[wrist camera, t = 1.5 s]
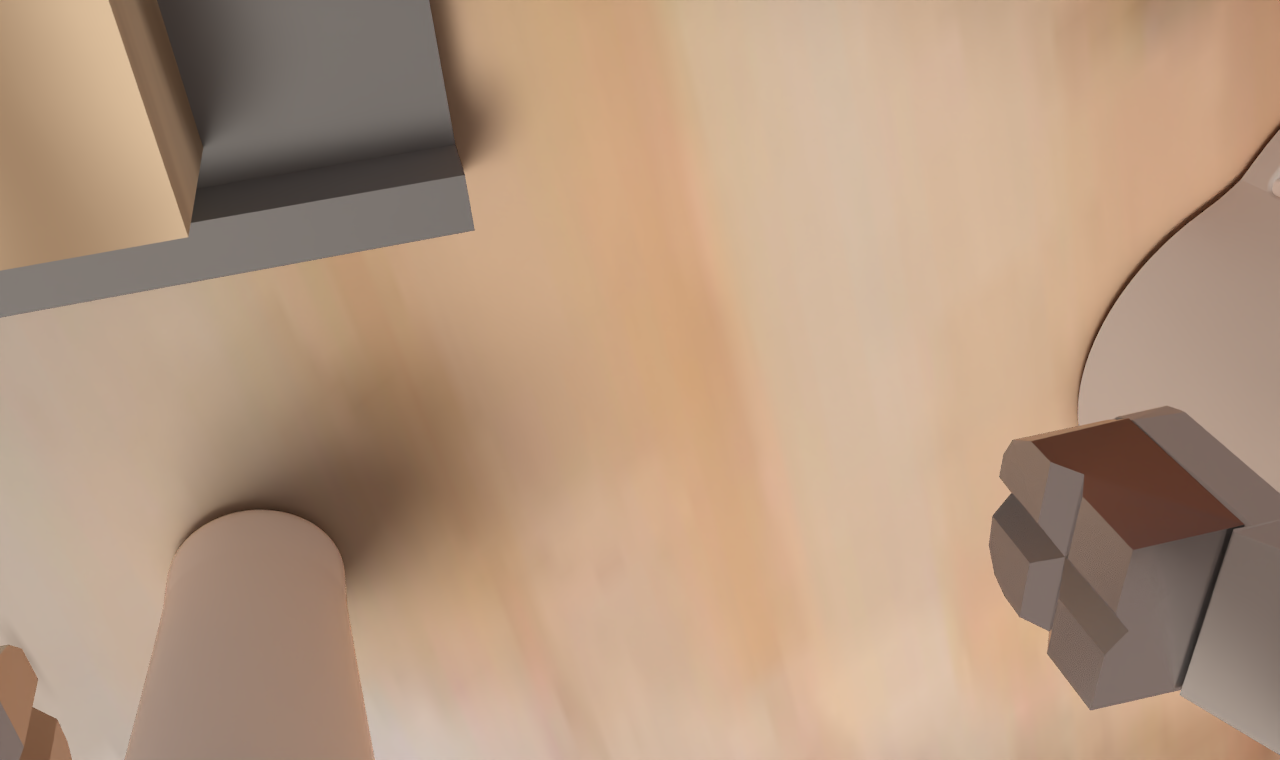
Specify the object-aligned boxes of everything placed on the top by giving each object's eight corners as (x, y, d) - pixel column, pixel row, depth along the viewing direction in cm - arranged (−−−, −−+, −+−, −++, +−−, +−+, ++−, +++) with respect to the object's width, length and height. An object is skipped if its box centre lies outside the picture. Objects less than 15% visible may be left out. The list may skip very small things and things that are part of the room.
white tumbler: (217, 448, 34) (176, 900, 22) (407, 533, 38) (462, 965, 26) (103, 599, 36) (8, 1092, 24) (294, 668, 40) (295, 1128, 28)
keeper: (70, -275, 23) (23, -252, 19) (203, 147, 28) (188, 237, 24) (-202, -246, 22) (-311, -215, 18) (-15, 183, 27) (-68, 282, 23)
